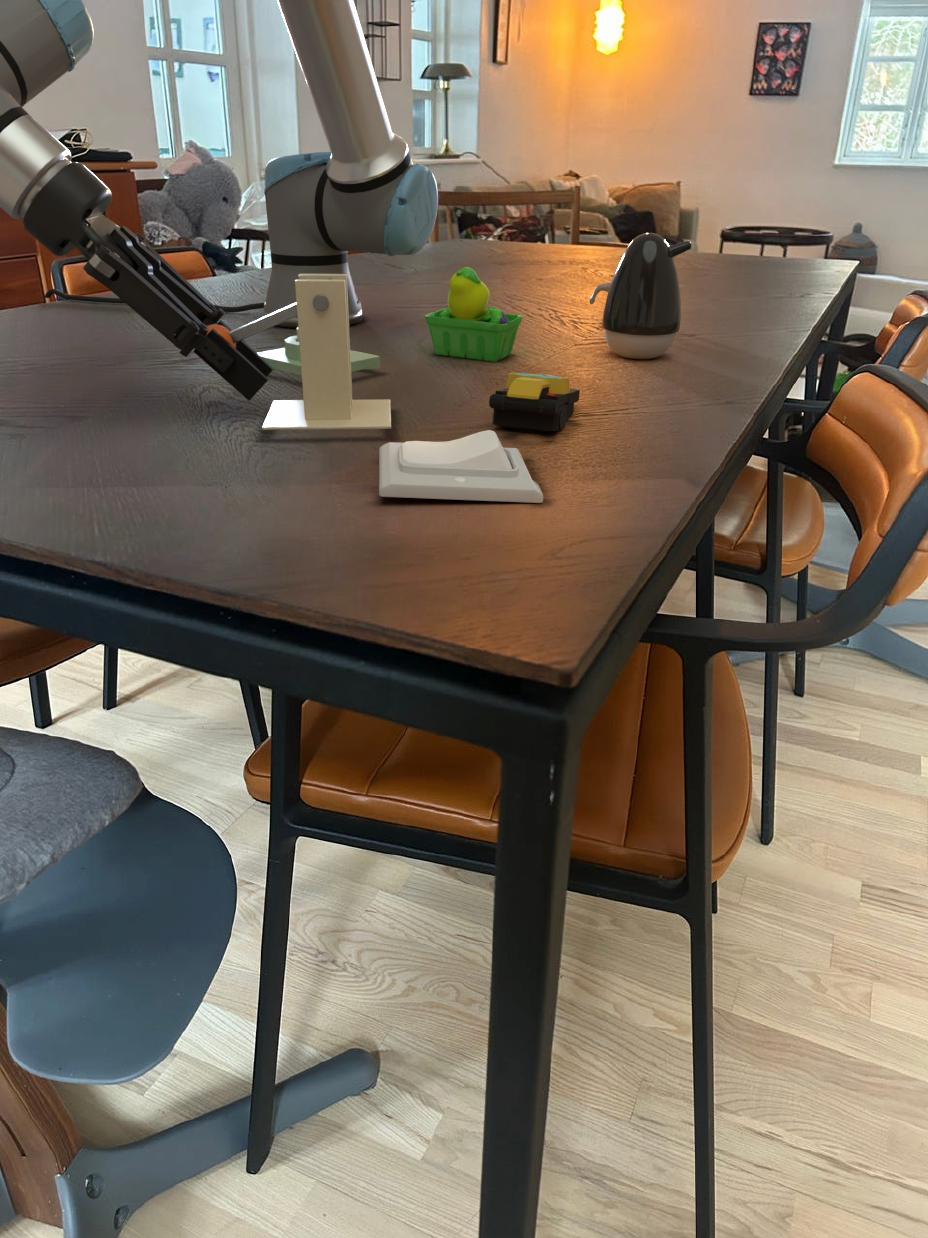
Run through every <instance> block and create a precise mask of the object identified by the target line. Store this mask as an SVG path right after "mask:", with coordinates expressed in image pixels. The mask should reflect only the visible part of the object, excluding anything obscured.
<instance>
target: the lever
mask: <svg viewBox="0 0 928 1238" xmlns="http://www.w3.org/2000/svg"><path fill="white" fill-rule="evenodd" d="M327 280H332V278H330V279H327ZM296 316H297V302H296V303H294V304H292V305H290V306H287V307H285V308H283V309H280V310H278V311H276V312H274V313H271V314H269V315H267V316H264V315H263V316H262V317H260V318H258V319H255V320H253V321H251V322H249V323H246V324H244V325H242V326H239V327H237V328H234V329H231V330H232V331H229V330H228V329H227V328H226V327H224V326H222V325H218V324H211V325H208V326H207V328H208V330H209V332H210V331H211V330H212V329H215V330H216V331H217V332H218V333H219V334H220V335H221V336H222V337H223V338H224V339H226V340H227V341H228V342H229V343H230V344H231V345H232V346H233V347H234V348H235V349H236V342H239V341H241V340H243V341H244V340H245V339H247V338H250V337H252V336H254V335H256V334H259V333H262V332H264V331H266V330H268V329H270V328H273V327H275V326H277V325H278V324H280V323H282V322H285V321H287V320H289V319H291V318H294V317H296ZM209 332H208V333H209ZM208 333H207V334H208Z"/></svg>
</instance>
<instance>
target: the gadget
mask: <svg viewBox="0 0 928 1238" xmlns="http://www.w3.org/2000/svg"><path fill="white" fill-rule="evenodd" d="M580 394H581V389H576V388H572V387H570V377H566V376H559V375H553V374H550V373H549V374H547V373H540V374H539V373H538V374H537V373H525V372H509V373H508V374H507V379H506V384H505V388H503V389H498V390H495V393H492V394H490V396H489V398H488V399H489V401H488V406H489V407H490V408H491V409H493V412H492V413H493V414H492V425H493V426H501V427H503V428H506V429H507V428H508V429H511V430H514V431H517V432H521V433H530V434H532V433H548V432H559V430H563V428H565V427H566V422H567V421H568V420H569V418H571V417H572V416H573V414H574V407H575V403H577V402H579V401H580Z"/></svg>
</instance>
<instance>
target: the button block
mask: <svg viewBox="0 0 928 1238" xmlns="http://www.w3.org/2000/svg"><path fill="white" fill-rule="evenodd" d="M283 344H284V347H280V348H276V349H270V350H265V351H259V352H256V353H257V354H258V355H260V356H261V357H262V358H263V359H264V360H265V361H266V362H267V363H268V364H269V365H270V366H272V367H273V368H274V369H273V371H274V370H275V371H281V372H284V373H289V374H292V375H297V376H301V377H302V371H301V358H300V344H299V342H297V335H293V336H289V337H286V338H285V339H284V340H283ZM350 357H351V373H353V372H358V371H362V370H381V356H380V355H377V354H371V353H367V352H361V351H357V350H353V349H350Z"/></svg>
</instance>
